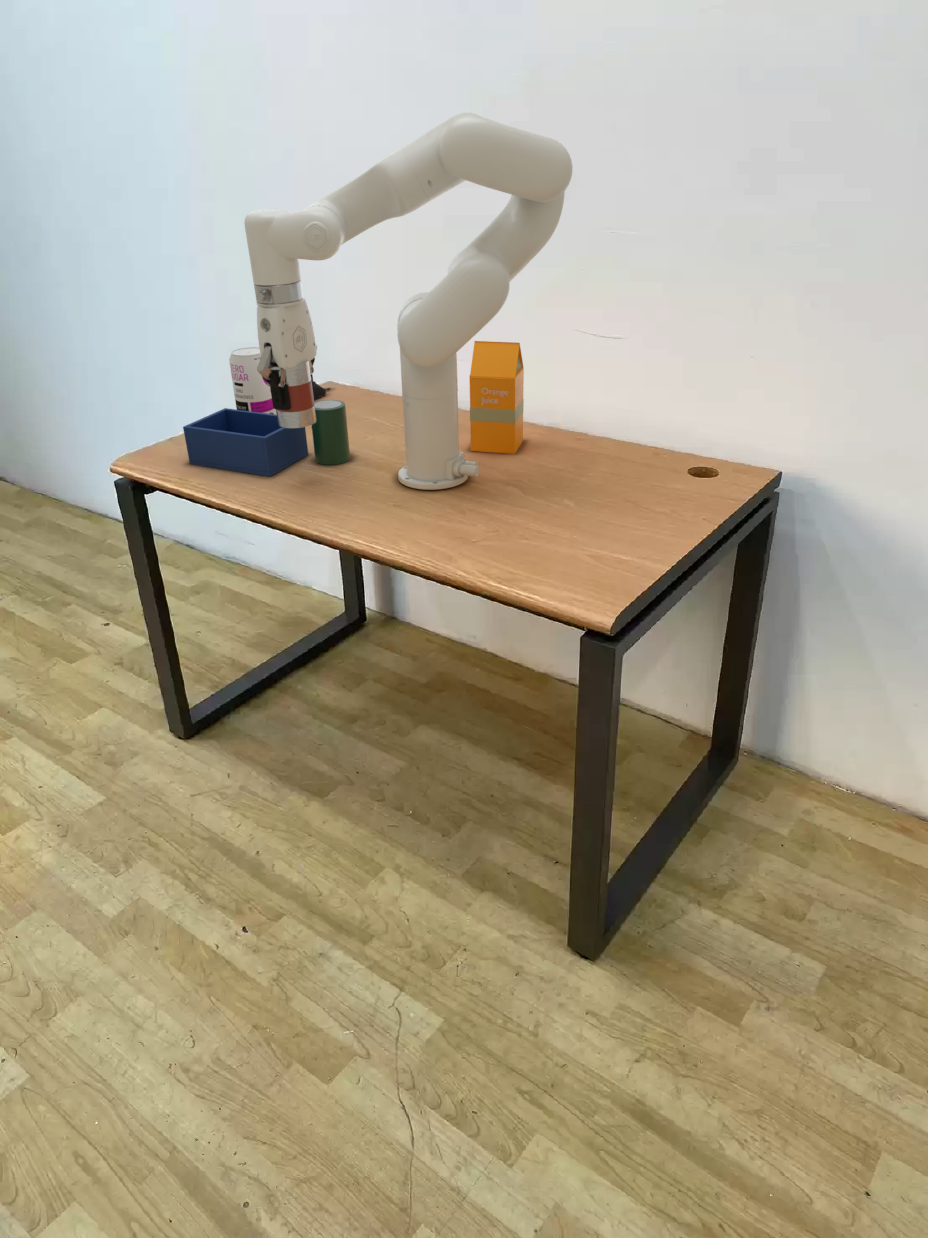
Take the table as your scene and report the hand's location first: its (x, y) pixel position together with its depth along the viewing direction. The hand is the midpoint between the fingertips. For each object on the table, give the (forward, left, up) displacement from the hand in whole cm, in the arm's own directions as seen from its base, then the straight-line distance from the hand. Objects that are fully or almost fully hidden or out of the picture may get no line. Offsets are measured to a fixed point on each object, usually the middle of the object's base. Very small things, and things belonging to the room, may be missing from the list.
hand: (294, 402), depth 154 cm
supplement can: (+29, -27, -15) cm, 43 cm away
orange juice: (-25, -31, -15) cm, 42 cm away
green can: (+2, -13, -15) cm, 20 cm away
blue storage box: (+17, -7, -15) cm, 24 cm away
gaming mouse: (+30, -47, -15) cm, 57 cm away
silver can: (0, 0, -4) cm, 4 cm away
